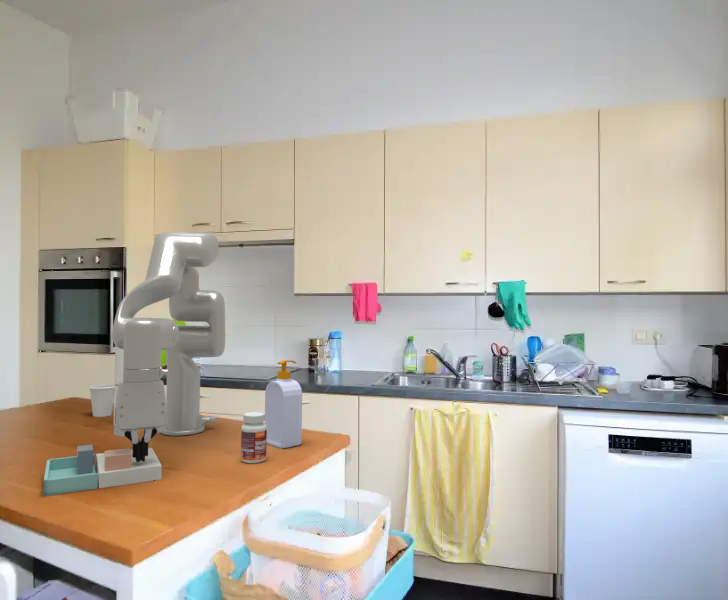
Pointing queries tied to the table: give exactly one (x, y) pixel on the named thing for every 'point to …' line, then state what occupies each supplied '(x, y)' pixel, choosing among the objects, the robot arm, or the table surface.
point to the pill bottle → (253, 438)
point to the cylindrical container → (118, 372)
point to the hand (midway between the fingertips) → (140, 460)
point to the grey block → (84, 459)
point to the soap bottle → (283, 410)
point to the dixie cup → (102, 399)
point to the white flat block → (129, 471)
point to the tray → (67, 477)
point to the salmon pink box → (117, 459)
